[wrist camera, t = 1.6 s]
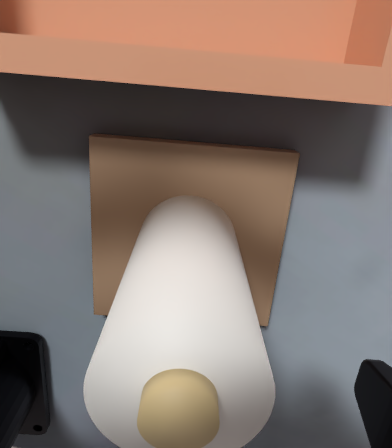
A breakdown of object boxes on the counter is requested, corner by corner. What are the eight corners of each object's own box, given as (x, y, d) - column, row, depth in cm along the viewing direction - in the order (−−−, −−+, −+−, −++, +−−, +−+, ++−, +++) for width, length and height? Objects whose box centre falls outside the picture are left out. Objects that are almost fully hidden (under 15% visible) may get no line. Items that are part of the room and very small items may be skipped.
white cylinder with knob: (229, 285, 16) (265, 496, 8) (138, 279, 16) (78, 486, 8) (240, 199, 14) (300, 348, 6) (141, 191, 14) (69, 332, 6)
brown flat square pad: (264, 315, 17) (267, 326, 16) (98, 304, 17) (93, 314, 16) (294, 149, 14) (299, 153, 14) (94, 133, 14) (88, 136, 13)
